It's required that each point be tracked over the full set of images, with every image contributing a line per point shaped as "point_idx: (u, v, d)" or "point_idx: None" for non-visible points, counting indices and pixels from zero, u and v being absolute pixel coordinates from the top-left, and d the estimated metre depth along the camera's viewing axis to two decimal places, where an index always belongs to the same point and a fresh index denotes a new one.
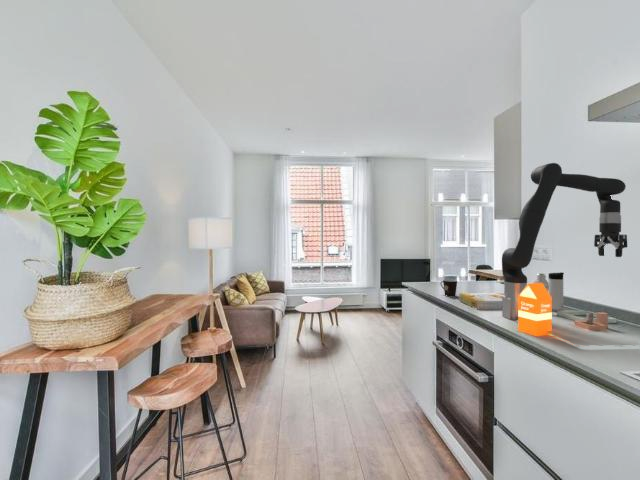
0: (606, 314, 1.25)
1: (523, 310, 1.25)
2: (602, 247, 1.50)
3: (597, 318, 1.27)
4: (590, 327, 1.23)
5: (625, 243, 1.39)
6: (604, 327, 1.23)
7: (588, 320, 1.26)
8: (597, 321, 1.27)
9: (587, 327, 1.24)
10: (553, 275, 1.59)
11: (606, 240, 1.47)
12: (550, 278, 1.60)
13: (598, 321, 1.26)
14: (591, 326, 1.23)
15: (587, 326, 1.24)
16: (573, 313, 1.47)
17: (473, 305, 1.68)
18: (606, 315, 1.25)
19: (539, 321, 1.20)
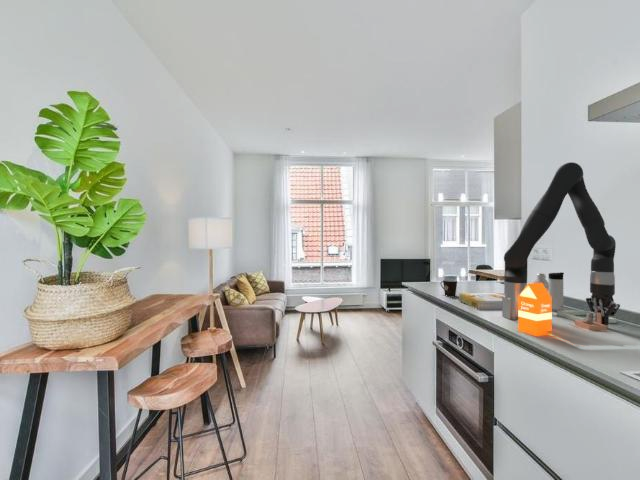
0: None
1: (523, 310, 1.25)
2: None
3: (597, 318, 1.27)
4: (590, 327, 1.23)
5: (613, 312, 1.22)
6: (605, 327, 1.23)
7: (588, 320, 1.26)
8: (597, 321, 1.27)
9: (587, 327, 1.24)
10: (553, 275, 1.59)
11: None
12: (550, 278, 1.60)
13: (598, 321, 1.26)
14: (591, 326, 1.23)
15: (587, 326, 1.24)
16: (573, 313, 1.47)
17: (473, 305, 1.67)
18: None
19: (539, 321, 1.20)
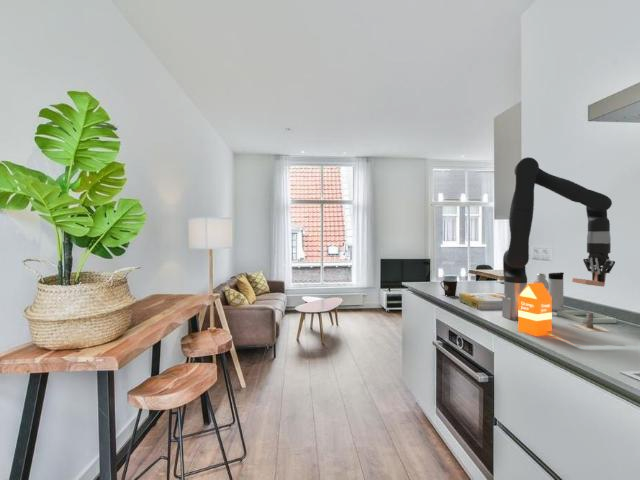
0: None
1: (523, 310, 1.25)
2: None
3: (595, 276, 1.32)
4: (587, 282, 1.29)
5: (609, 269, 1.28)
6: (601, 284, 1.29)
7: (588, 320, 1.26)
8: (595, 279, 1.32)
9: (584, 282, 1.29)
10: (553, 275, 1.59)
11: None
12: (550, 278, 1.60)
13: (596, 279, 1.32)
14: (588, 281, 1.29)
15: (584, 281, 1.29)
16: (573, 313, 1.47)
17: (474, 305, 1.67)
18: None
19: (539, 321, 1.20)
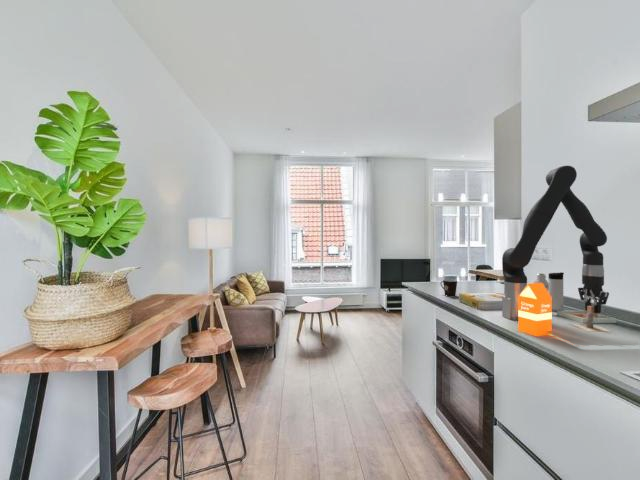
0: None
1: (523, 310, 1.25)
2: (589, 301, 1.42)
3: (588, 311, 1.41)
4: None
5: (605, 300, 1.35)
6: None
7: (588, 320, 1.26)
8: None
9: None
10: (553, 275, 1.59)
11: (590, 292, 1.40)
12: (550, 278, 1.60)
13: None
14: None
15: None
16: (573, 313, 1.47)
17: (474, 305, 1.67)
18: None
19: (539, 321, 1.20)
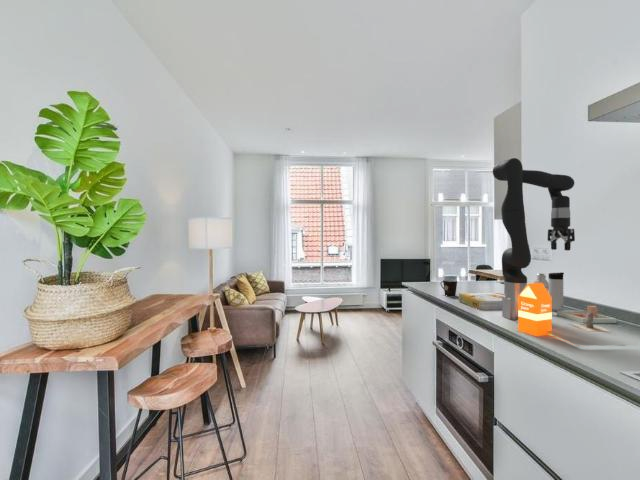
0: (595, 307, 1.39)
1: (523, 310, 1.25)
2: (554, 241, 1.56)
3: (588, 311, 1.41)
4: None
5: (573, 237, 1.45)
6: None
7: (588, 320, 1.26)
8: None
9: None
10: (553, 275, 1.59)
11: (557, 234, 1.53)
12: (550, 278, 1.60)
13: None
14: None
15: None
16: (573, 313, 1.47)
17: (474, 305, 1.67)
18: (596, 308, 1.39)
19: (539, 321, 1.20)
